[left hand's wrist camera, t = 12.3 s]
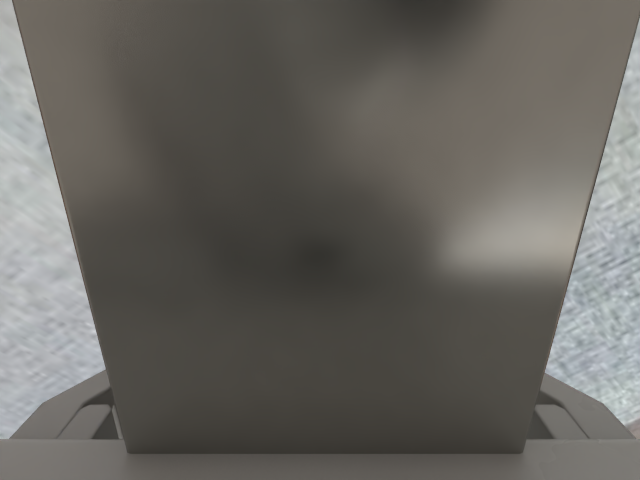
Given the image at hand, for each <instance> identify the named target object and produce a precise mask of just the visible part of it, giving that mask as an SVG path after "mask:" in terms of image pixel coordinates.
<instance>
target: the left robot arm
mask: <svg viewBox="0 0 640 480" xmlns="http://www.w3.org/2000/svg"><path fill="white" fill-rule="evenodd" d="M0 480H640V439H636V438H635V437H634V436H633V435H632V434H631V432H630V431H629V430H628V429H627V428H626V427H625V426H624V425H623V424H622V423H621V422H620V421H619V420H618V419H617V418H616V417H615V416H614V415H613V414H612V412H611V411H610V410H609V409H608V408H607V407H606V406H605V405H604V404H603V403H601V402H599V401H597V400H595V399H593V398H592V397H590V396H588V395H586V394H584V393H582V392H580V391H578V390H576V389H574V388H573V387H571V386H569V385H567V384H565V383H563V382H561V381H559V380H557V379H555V378H554V377H552V376H550V375H548V374H546V373H544V376H543V380H542V383H541V387H540V391H539V395H538V398H537V402H536V406H535V410H534V413H533V417H532V421H531V425H530V428H529V432H528V436H527V439H526V443H525V447H524V451H523V453H521V454H130V453H127V450H126V446H125V442H124V438H123V434H122V430H121V426H120V422H119V418H118V414H117V410H116V406H115V402H114V398H113V395H112V391H111V387H110V383H109V379H108V375H107V371H106V370H104V371H102V372H100V373H98V374H96V375H94V376H93V377H91V378H89V379H87V380H85V381H83V382H81V383H79V384H78V385H76V386H74V387H72V388H70V389H68V390H66V391H64V392H62V393H61V394H59V395H57V396H55V397H53V398H51V399H49V400H47V401H46V402H44V403H42V404H41V405H40V406H39V407H38V408H37V410H36V411H35V412H34V413H33V414H32V415H31V416H30V417H29V418H28V419H27V420H26V421H25V422H24V423H23V424H22V426H21V427H20V428H19V429H18V430H17V431H16V432H15V433H14V434H13V435H12V436H11V437H10V438H9V439H0Z"/></svg>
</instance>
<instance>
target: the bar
mask: <svg viewBox="0 0 640 480" xmlns="http://www.w3.org/2000/svg"><path fill="white" fill-rule="evenodd" d="M12 2H13V6H14V10H15V14H16V18H17V22H18V26H19V30H20V34H21V38H22V41H23V45H24V49H25V53H26V57H27V61H28V65H29V69H30V73H31V77H32V81H33V85H34V89H35V92H36V96H37V100H38V104H39V108H40V112H41V116H42V120H43V124H44V128H45V132H46V136H47V140H48V143H49V147H50V151H51V155H52V159H53V163H54V167H55V171H56V175H57V179H58V183H59V187H60V191H61V194H62V198H63V202H64V206H65V210H66V214H67V218H68V222H69V226H70V230H71V234H72V238H73V242H74V245H75V249H76V253H77V257H78V261H79V265H80V269H81V273H82V277H83V281H84V285H85V289H86V293H87V296H88V300H89V304H90V308H91V312H92V316H93V320H94V324H95V328H96V332H97V336H98V340H99V344H100V347H101V351H102V355H103V359H104V363H105V367H106V371H107V375H108V379H109V383H110V387H111V391H112V395H113V398H114V402H115V406H116V410H117V414H118V418H119V422H120V426H121V430H122V434H123V438H124V442H125V446H126V450H127V453H130V454H521V453H523V451H524V447H525V443H526V439H527V436H528V432H529V428H530V425H531V421H532V417H533V413H534V410H535V406H536V402H537V398H538V395H539V391H540V387H541V383H542V380H543V376H544V372H545V369H546V365H547V361H548V357H549V354H550V350H551V346H552V342H553V339H554V335H555V331H556V328H557V324H558V320H559V316H560V313H561V309H562V305H563V301H564V298H565V294H566V290H567V286H568V283H569V279H570V275H571V272H572V268H573V264H574V260H575V257H576V253H577V249H578V245H579V242H580V238H581V234H582V231H583V227H584V223H585V219H586V216H587V212H588V208H589V204H590V201H591V197H592V193H593V189H594V186H595V182H596V178H597V175H598V171H599V167H600V163H601V160H602V156H603V152H604V148H605V145H606V141H607V137H608V133H609V130H610V126H611V122H612V119H613V115H614V111H615V107H616V104H617V100H618V96H619V92H620V89H621V85H622V81H623V78H624V74H625V70H626V66H627V63H628V59H629V55H630V51H631V48H632V44H633V40H634V36H635V33H636V29H637V25H638V22H639V18H640V0H12Z"/></svg>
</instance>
